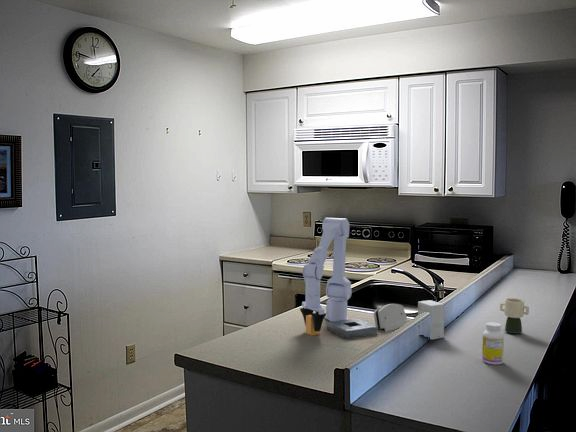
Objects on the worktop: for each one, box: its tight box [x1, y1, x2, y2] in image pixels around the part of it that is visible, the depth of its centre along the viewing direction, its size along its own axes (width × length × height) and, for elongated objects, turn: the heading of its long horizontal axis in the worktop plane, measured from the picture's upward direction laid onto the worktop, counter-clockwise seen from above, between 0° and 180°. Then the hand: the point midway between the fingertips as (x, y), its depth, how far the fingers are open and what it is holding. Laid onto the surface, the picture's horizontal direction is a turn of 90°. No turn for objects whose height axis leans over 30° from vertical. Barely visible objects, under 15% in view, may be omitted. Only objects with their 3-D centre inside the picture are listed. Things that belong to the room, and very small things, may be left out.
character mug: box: [499, 297, 530, 334], centre depth 216 cm, size 11×7×13 cm, turn 52°
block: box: [305, 315, 321, 336], centre depth 216 cm, size 4×4×7 cm
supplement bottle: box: [481, 321, 505, 366], centre depth 183 cm, size 7×7×13 cm
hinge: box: [373, 303, 411, 333], centre depth 226 cm, size 17×5×10 cm, turn 131°
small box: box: [417, 299, 445, 340], centre depth 212 cm, size 8×6×13 cm
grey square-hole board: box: [327, 317, 378, 340], centre depth 218 cm, size 14×14×3 cm
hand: (312, 328), depth 216 cm, fingers open, 7 cm apart
